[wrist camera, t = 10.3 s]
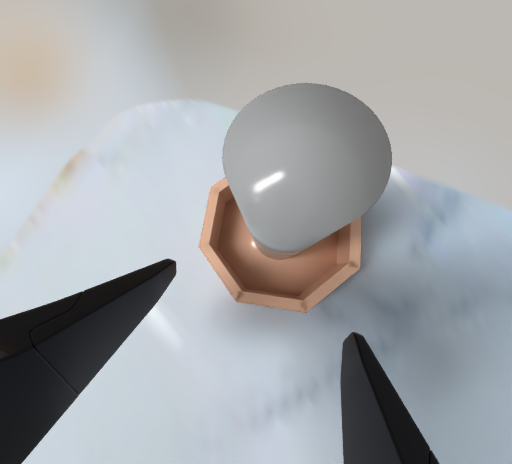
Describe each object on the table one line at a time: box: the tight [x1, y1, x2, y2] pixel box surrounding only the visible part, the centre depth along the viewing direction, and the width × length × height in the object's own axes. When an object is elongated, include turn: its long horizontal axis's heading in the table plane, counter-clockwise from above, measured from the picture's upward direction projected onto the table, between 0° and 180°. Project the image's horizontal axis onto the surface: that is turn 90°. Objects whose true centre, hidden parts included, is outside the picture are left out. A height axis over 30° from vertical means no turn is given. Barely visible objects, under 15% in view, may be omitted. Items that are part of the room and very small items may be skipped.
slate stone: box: [222, 83, 392, 260], centre depth 12 cm, size 5×5×12 cm
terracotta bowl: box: [199, 177, 361, 313], centre depth 17 cm, size 13×13×4 cm
